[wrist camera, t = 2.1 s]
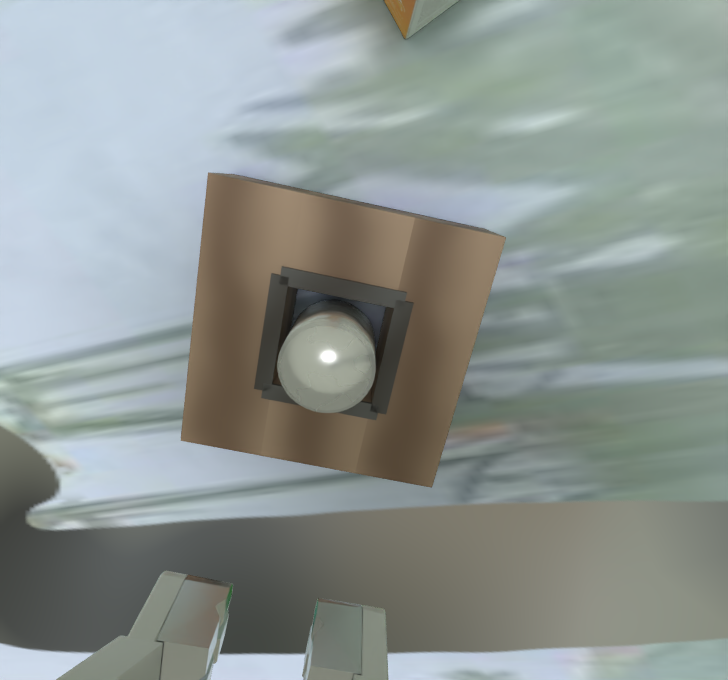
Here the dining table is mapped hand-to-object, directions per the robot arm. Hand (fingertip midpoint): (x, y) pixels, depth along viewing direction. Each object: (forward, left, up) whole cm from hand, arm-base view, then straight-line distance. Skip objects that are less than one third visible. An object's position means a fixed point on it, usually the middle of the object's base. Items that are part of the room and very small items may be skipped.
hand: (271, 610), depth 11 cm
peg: (0, 0, -20) cm, 20 cm away
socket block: (0, 0, -23) cm, 23 cm away
